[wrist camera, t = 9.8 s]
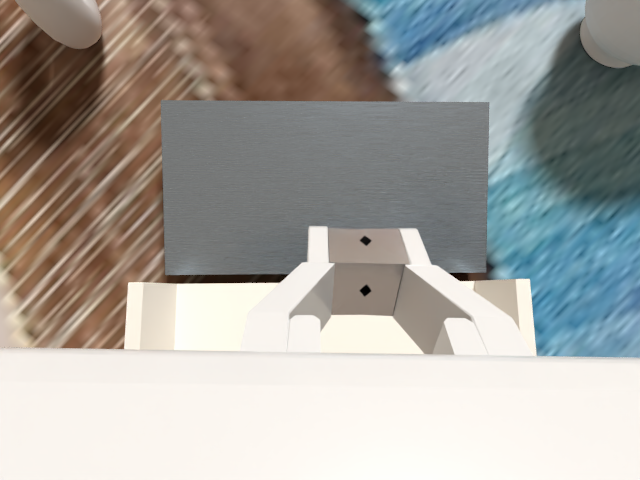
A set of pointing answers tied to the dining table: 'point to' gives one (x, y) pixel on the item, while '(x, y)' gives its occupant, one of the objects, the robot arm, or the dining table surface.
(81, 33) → the donut
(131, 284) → the drawer box
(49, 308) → the dining table surface
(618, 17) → the teacup
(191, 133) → the grey rectangular panel
